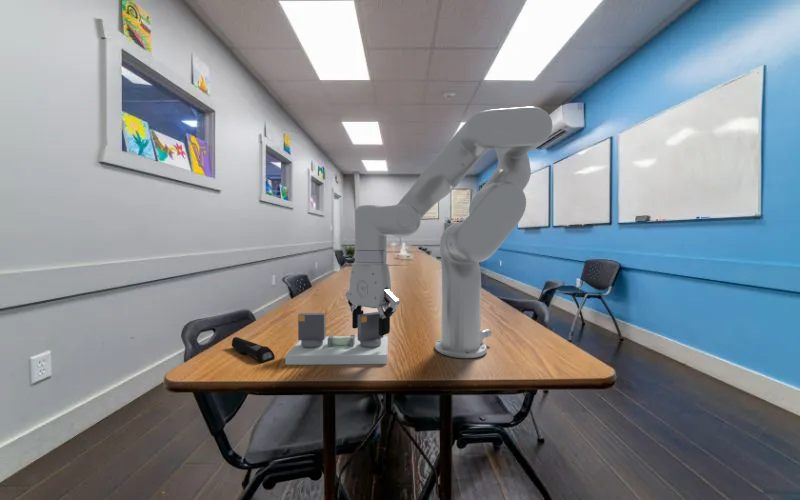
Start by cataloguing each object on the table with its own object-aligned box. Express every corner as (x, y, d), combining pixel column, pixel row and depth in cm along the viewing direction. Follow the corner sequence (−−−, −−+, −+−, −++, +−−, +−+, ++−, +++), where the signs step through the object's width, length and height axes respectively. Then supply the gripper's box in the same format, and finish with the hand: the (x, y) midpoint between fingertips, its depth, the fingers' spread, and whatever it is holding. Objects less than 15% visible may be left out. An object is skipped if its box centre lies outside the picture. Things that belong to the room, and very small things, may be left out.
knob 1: (327, 340, 73) (327, 311, 73) (322, 347, 68) (322, 316, 68) (302, 340, 73) (302, 311, 73) (296, 347, 68) (296, 316, 68)
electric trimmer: (243, 346, 77) (242, 334, 77) (276, 359, 68) (276, 346, 67) (227, 350, 74) (227, 338, 74) (260, 365, 64) (259, 351, 64)
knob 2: (376, 338, 75) (376, 310, 75) (386, 344, 71) (386, 314, 70) (354, 342, 71) (354, 313, 71) (364, 349, 67) (364, 317, 67)
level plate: (387, 343, 78) (387, 328, 78) (386, 364, 65) (386, 345, 65) (303, 344, 77) (303, 328, 77) (285, 364, 64) (285, 346, 64)
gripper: (334, 257, 73) (334, 327, 73) (387, 260, 62) (387, 342, 63) (357, 256, 79) (357, 321, 79) (409, 258, 68) (409, 334, 68)
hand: (370, 330), depth 71 cm, fingers open, 8 cm apart
